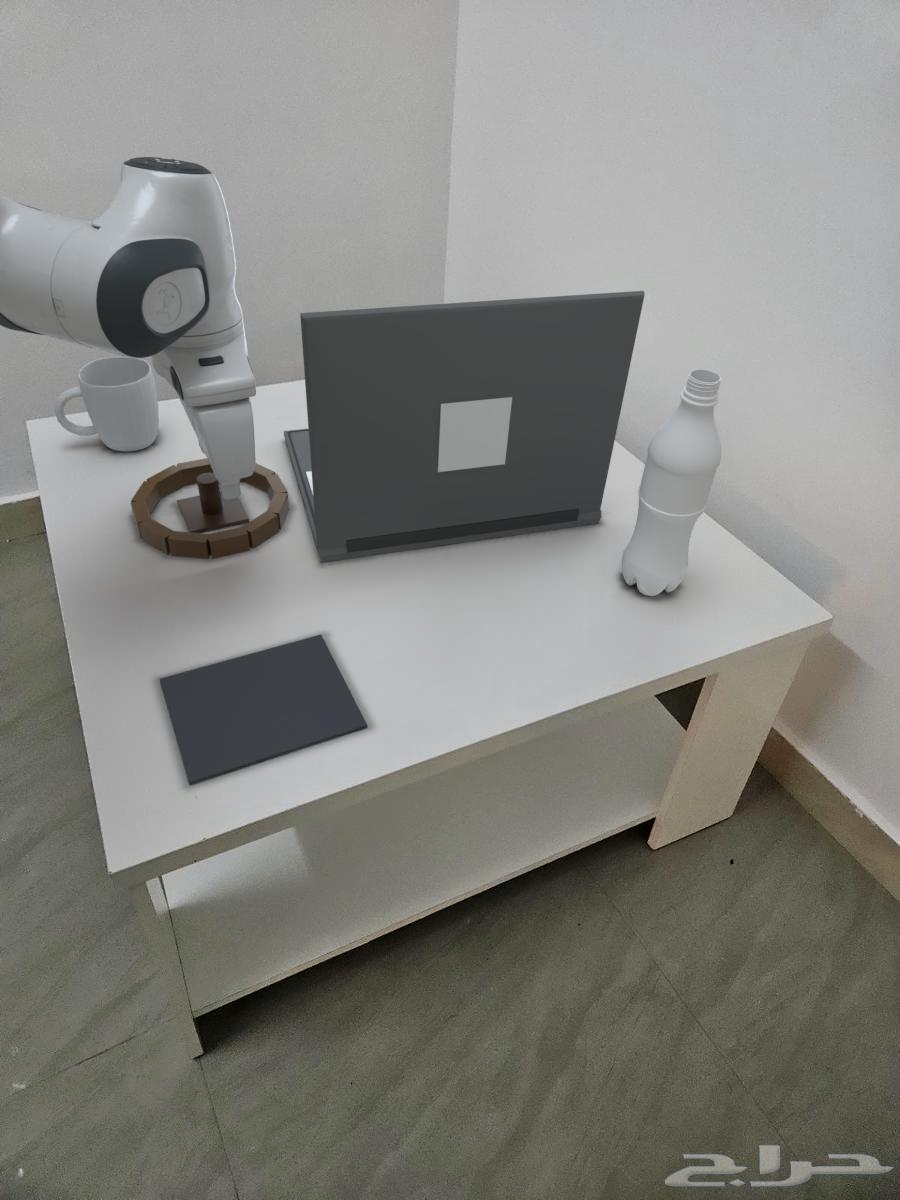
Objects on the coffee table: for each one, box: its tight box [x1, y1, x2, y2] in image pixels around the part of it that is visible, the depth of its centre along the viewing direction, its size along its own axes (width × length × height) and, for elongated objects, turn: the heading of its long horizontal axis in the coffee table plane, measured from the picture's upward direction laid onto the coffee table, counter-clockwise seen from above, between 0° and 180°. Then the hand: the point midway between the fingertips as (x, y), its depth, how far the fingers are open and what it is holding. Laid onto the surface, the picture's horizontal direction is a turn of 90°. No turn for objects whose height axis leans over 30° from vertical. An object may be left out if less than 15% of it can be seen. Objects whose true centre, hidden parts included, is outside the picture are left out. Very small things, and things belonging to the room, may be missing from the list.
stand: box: [176, 473, 250, 534], centre depth 97 cm, size 7×7×5 cm
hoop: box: [130, 457, 290, 560], centre depth 98 cm, size 18×18×2 cm
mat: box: [159, 634, 368, 786], centre depth 76 cm, size 16×13×1 cm
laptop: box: [283, 290, 645, 563], centre depth 97 cm, size 35×28×28 cm
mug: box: [54, 355, 160, 452], centre depth 106 cm, size 13×9×10 cm
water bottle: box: [621, 368, 722, 597], centre depth 84 cm, size 7×7×25 cm
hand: (219, 472), depth 86 cm, fingers open, 8 cm apart
